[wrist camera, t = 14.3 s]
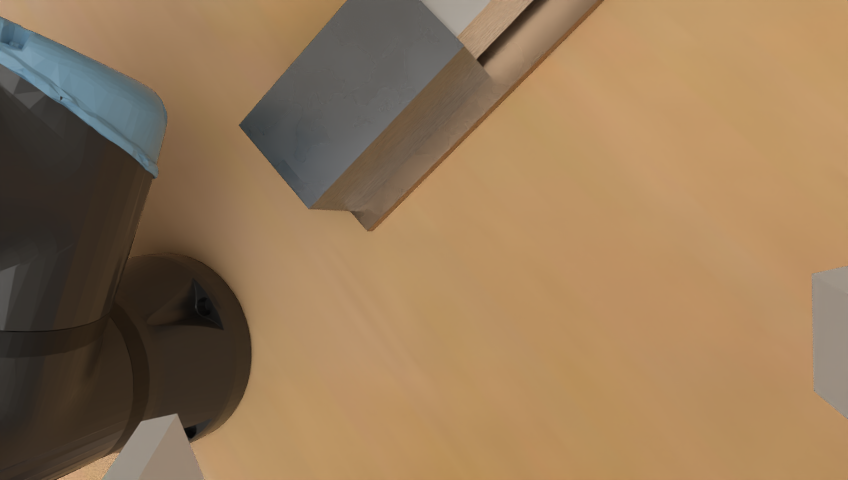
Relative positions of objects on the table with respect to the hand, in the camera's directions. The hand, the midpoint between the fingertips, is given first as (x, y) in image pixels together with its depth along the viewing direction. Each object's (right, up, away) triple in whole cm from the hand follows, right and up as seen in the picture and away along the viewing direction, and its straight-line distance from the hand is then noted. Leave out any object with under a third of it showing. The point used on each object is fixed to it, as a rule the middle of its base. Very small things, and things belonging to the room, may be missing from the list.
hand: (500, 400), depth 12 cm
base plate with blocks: (+2, +17, +28) cm, 33 cm away
